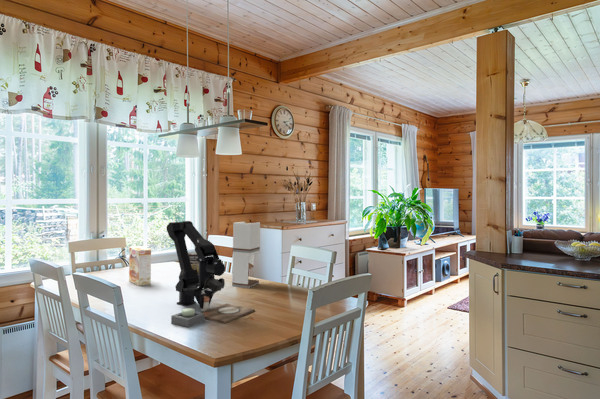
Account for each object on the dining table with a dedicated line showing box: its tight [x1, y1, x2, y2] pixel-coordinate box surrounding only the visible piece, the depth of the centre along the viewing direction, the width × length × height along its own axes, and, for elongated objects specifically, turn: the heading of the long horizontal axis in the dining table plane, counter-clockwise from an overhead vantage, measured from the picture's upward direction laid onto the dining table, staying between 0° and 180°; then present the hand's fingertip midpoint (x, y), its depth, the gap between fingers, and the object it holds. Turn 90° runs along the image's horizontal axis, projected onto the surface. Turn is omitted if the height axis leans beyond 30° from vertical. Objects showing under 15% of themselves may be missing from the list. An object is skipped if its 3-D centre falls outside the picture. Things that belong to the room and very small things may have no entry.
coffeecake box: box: [128, 245, 152, 287], centre depth 227 cm, size 15×7×20 cm, turn 42°
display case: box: [231, 221, 261, 289], centre depth 226 cm, size 11×11×35 cm
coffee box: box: [188, 252, 199, 274], centre depth 232 cm, size 9×6×16 cm
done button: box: [181, 308, 196, 317], centre depth 161 cm, size 5×5×2 cm
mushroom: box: [200, 297, 210, 312], centre depth 178 cm, size 4×4×6 cm
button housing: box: [170, 311, 206, 328], centre depth 161 cm, size 9×9×3 cm
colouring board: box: [200, 303, 256, 324], centre depth 173 cm, size 16×20×1 cm
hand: (204, 307), depth 178 cm, fingers closed on mushroom, 3 cm apart
